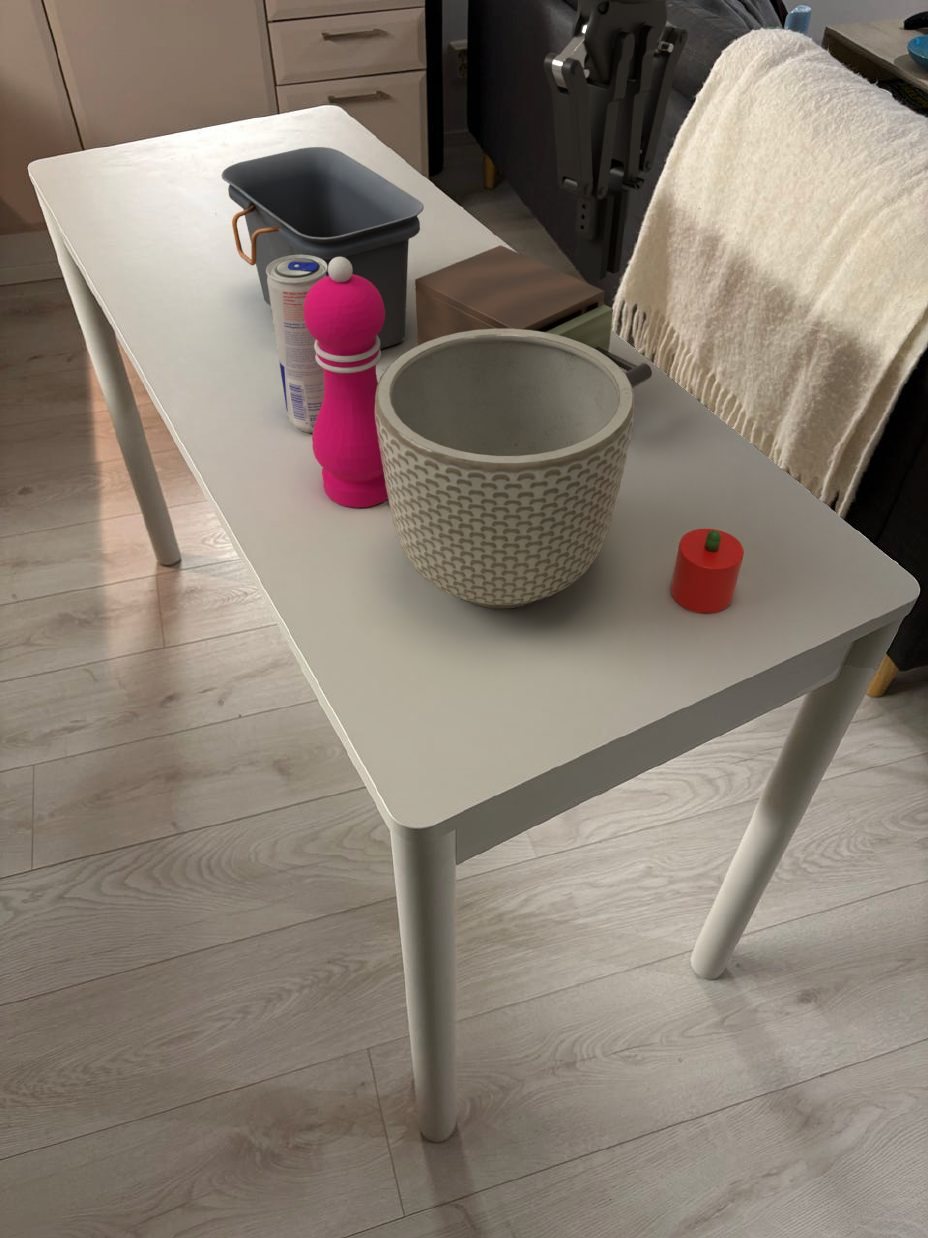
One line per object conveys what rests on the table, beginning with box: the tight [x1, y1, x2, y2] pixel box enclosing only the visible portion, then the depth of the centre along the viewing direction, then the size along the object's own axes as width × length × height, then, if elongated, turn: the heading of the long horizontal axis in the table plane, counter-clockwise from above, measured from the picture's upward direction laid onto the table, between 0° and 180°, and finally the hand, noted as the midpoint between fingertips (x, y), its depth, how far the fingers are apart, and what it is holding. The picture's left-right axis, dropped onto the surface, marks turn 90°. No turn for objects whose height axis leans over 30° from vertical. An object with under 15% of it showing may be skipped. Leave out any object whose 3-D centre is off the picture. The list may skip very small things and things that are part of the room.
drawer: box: [536, 304, 653, 389], centre depth 90 cm, size 19×10×8 cm, turn 43°
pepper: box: [670, 527, 745, 614], centre depth 71 cm, size 5×5×6 cm
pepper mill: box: [303, 257, 389, 508], centre depth 76 cm, size 7×7×20 cm
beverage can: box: [266, 255, 329, 434], centre depth 85 cm, size 5×5×15 cm
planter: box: [375, 329, 636, 610], centre depth 70 cm, size 17×17×16 cm
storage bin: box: [221, 146, 425, 350], centre depth 99 cm, size 21×16×14 cm
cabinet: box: [414, 245, 605, 346], centre depth 93 cm, size 14×11×10 cm
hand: (597, 269), depth 80 cm, fingers closed
